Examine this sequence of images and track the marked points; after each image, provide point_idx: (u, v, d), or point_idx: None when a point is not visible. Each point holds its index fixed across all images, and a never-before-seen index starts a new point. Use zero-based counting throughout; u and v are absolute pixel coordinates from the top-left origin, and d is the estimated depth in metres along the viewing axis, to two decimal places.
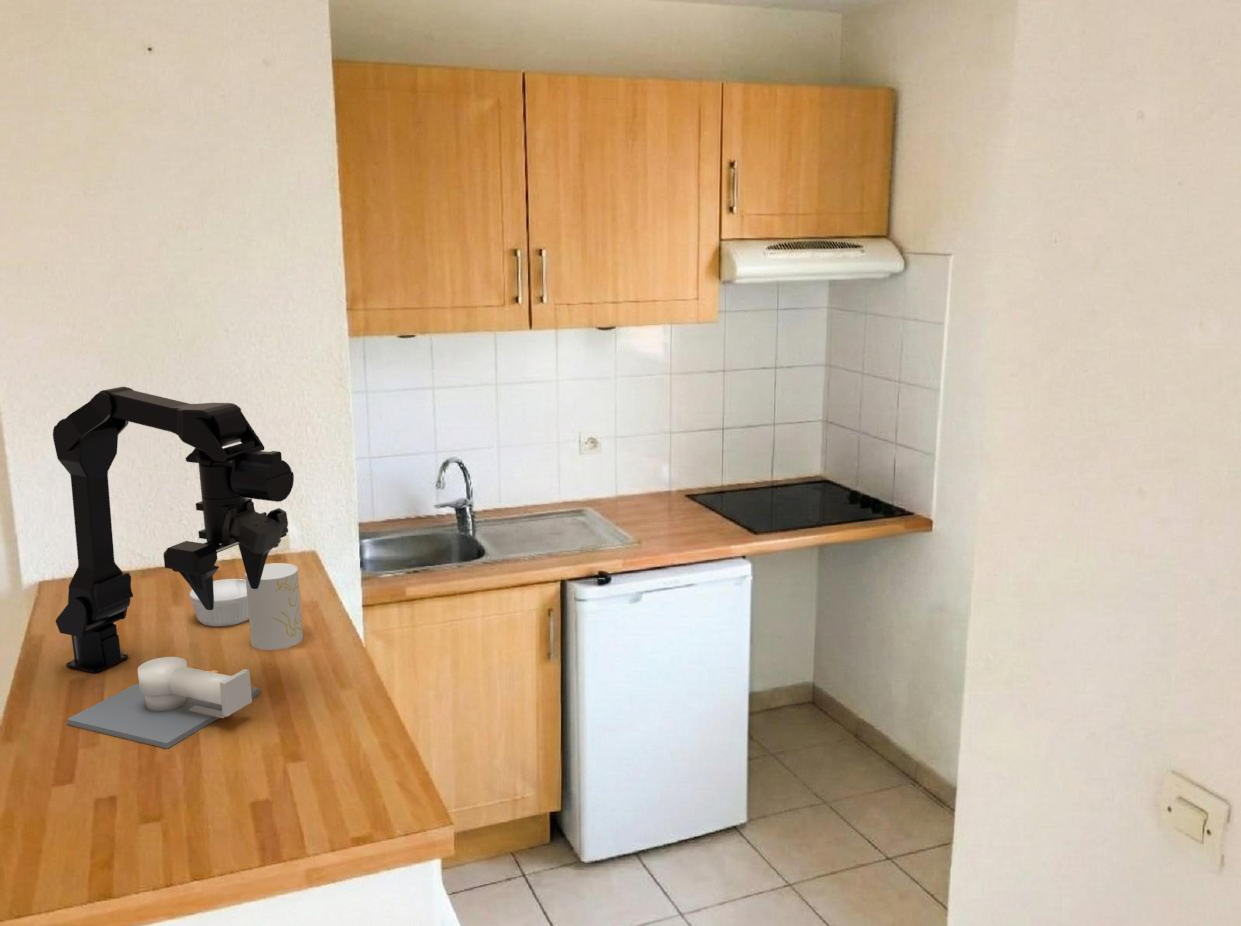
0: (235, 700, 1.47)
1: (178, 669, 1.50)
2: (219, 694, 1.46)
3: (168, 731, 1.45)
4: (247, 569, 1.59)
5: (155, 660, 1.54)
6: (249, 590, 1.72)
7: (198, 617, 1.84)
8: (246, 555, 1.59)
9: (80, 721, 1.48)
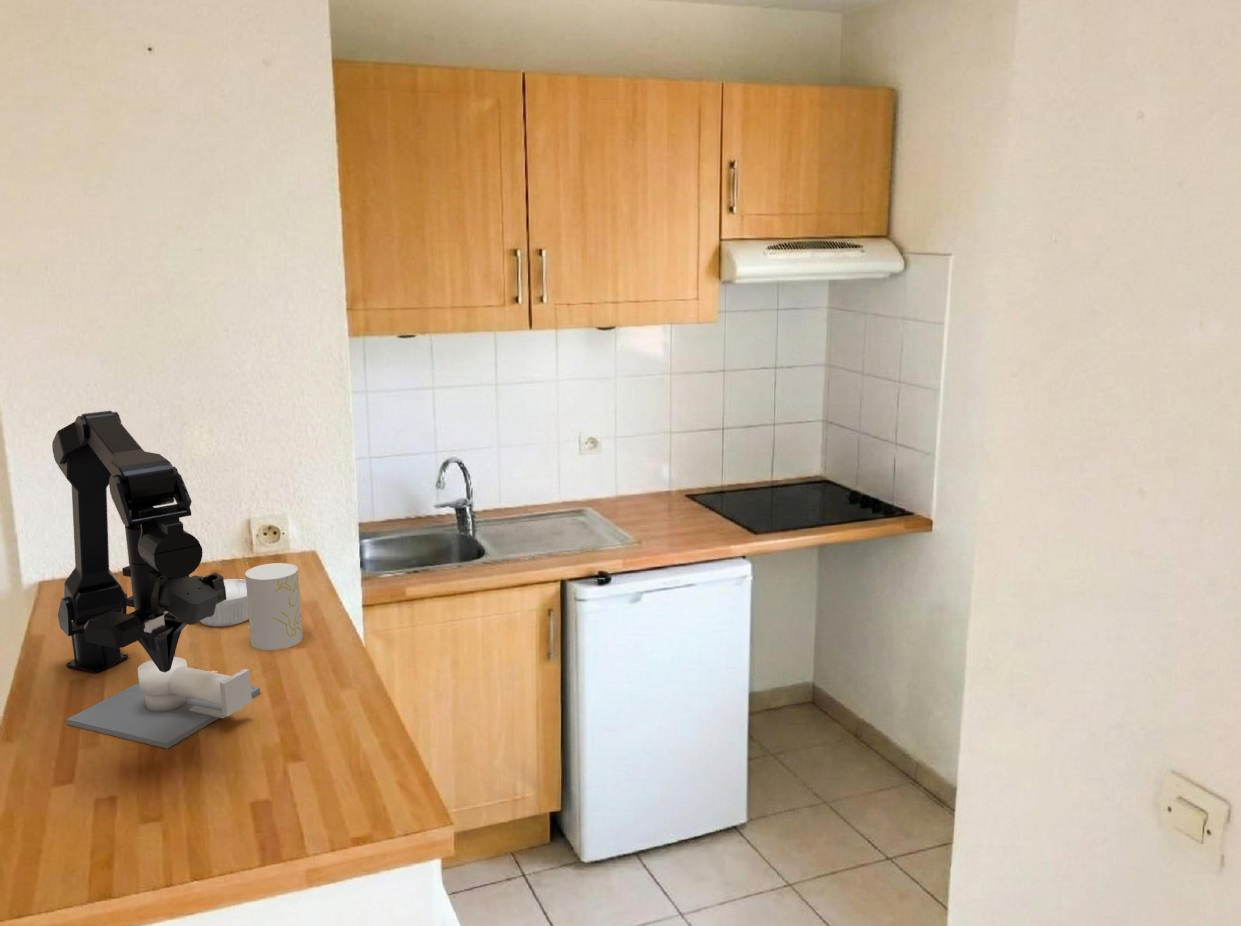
0: (235, 700, 1.47)
1: (178, 669, 1.50)
2: (219, 694, 1.46)
3: (168, 731, 1.45)
4: None
5: None
6: (249, 590, 1.72)
7: None
8: None
9: (80, 721, 1.48)
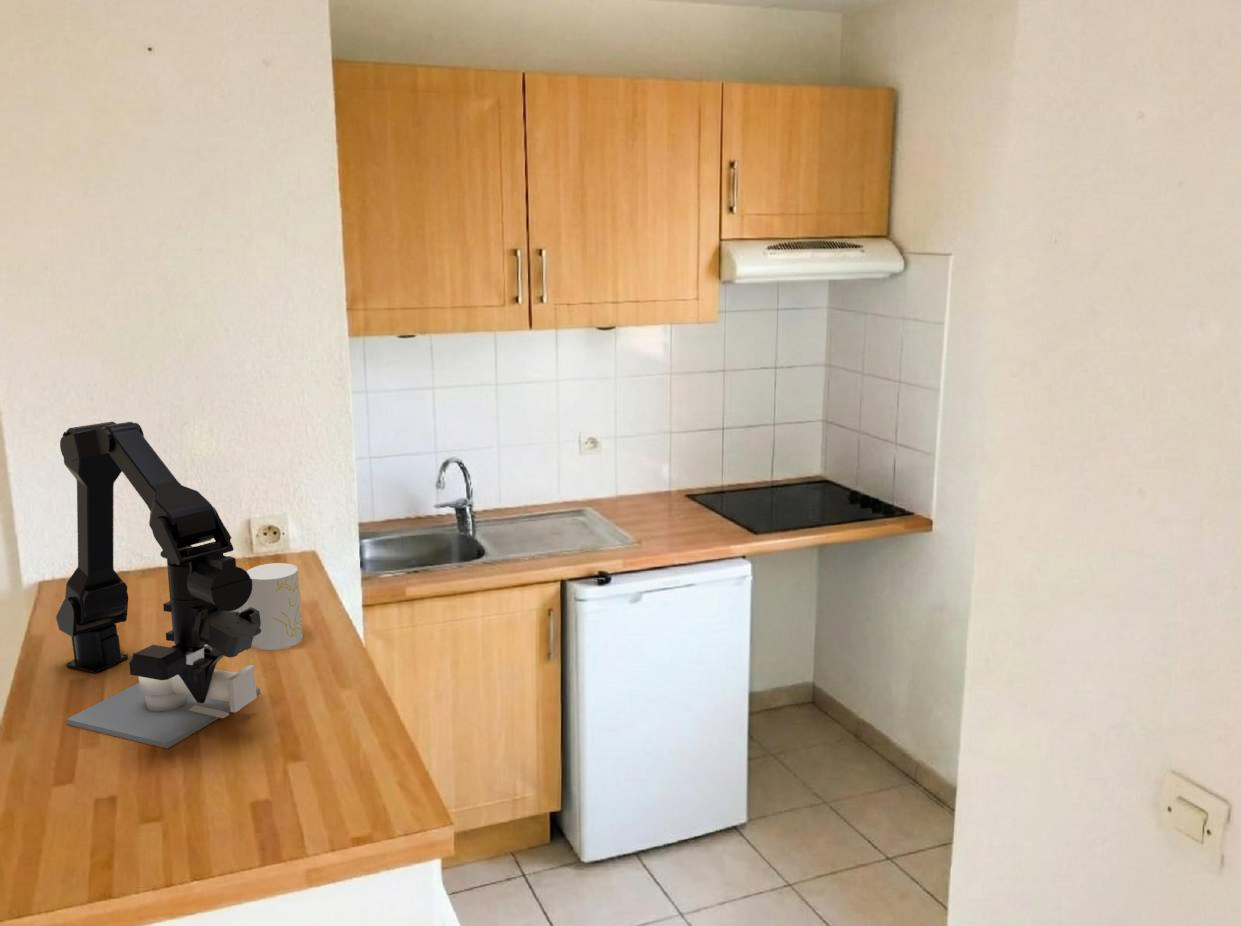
0: (242, 696, 1.48)
1: None
2: (226, 691, 1.47)
3: (168, 731, 1.45)
4: None
5: None
6: None
7: None
8: None
9: (80, 721, 1.48)
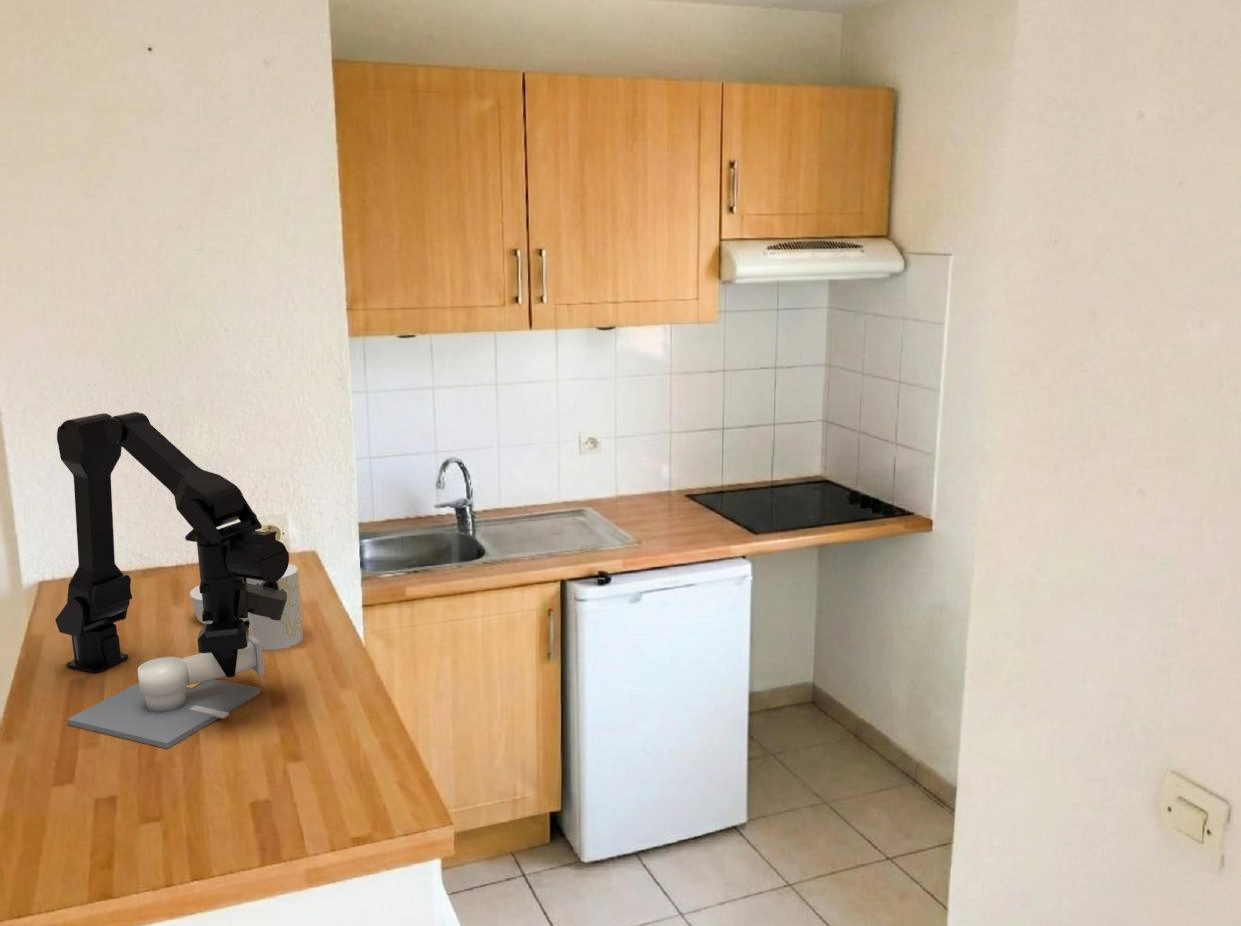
0: None
1: (188, 659, 1.53)
2: (251, 658, 1.58)
3: (168, 731, 1.45)
4: None
5: (141, 667, 1.51)
6: None
7: (198, 617, 1.84)
8: None
9: (80, 721, 1.48)
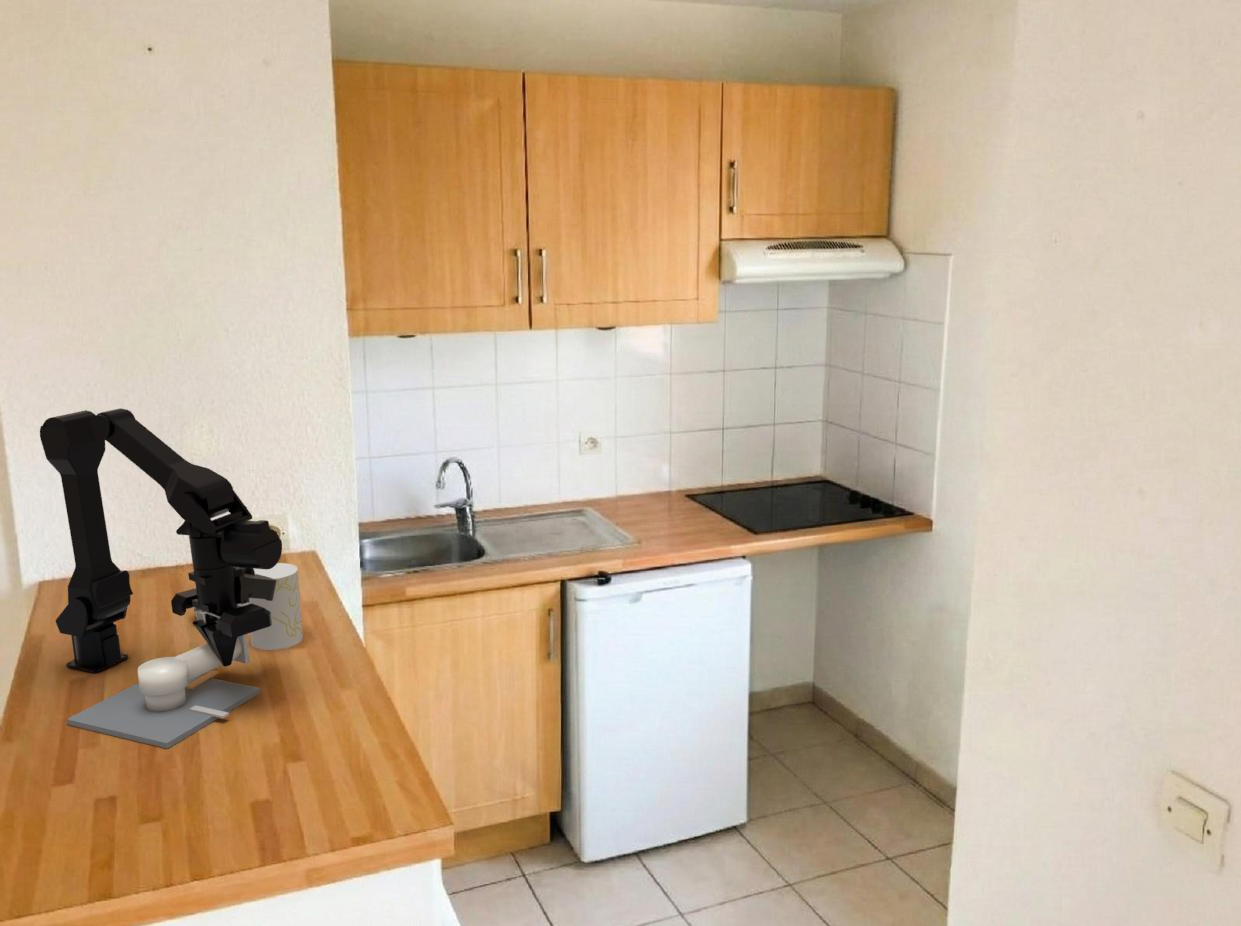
0: None
1: (184, 656, 1.55)
2: (238, 647, 1.62)
3: (168, 731, 1.45)
4: None
5: (141, 670, 1.50)
6: None
7: None
8: None
9: (80, 721, 1.48)
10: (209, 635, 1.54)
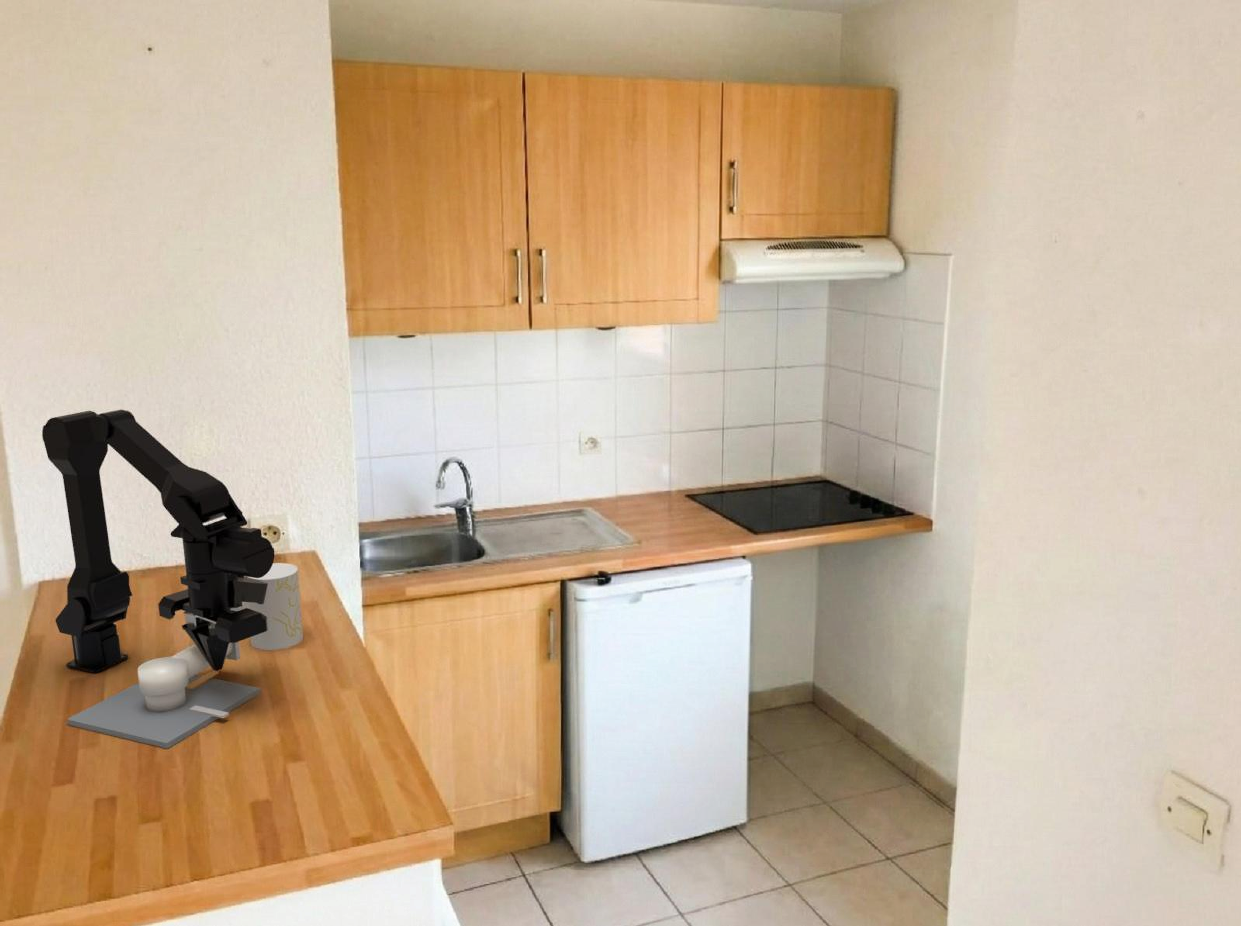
0: None
1: (181, 655, 1.55)
2: (229, 644, 1.63)
3: (168, 731, 1.45)
4: None
5: (142, 671, 1.50)
6: None
7: None
8: None
9: (80, 721, 1.48)
10: (203, 640, 1.53)
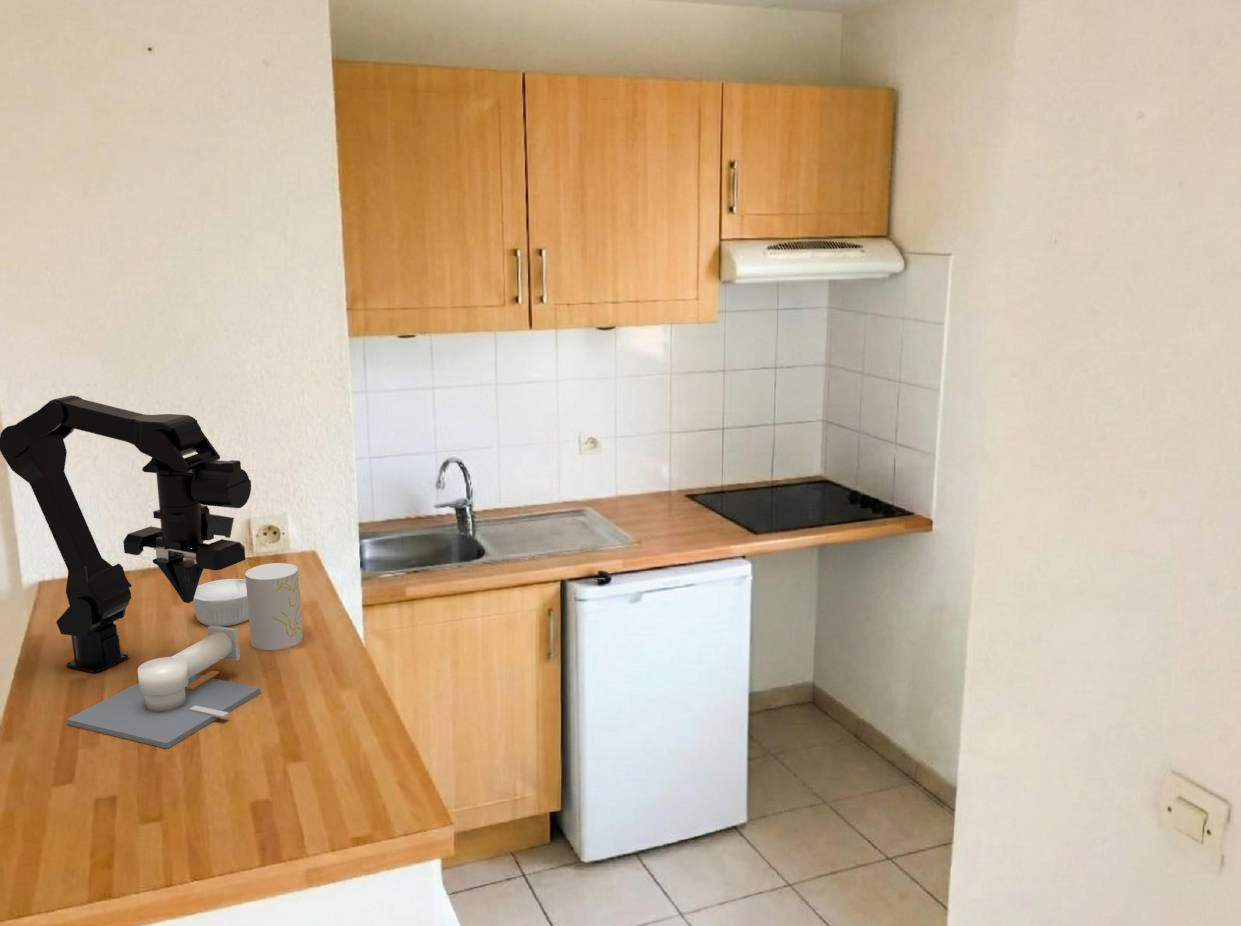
0: None
1: (181, 655, 1.55)
2: (229, 644, 1.63)
3: (168, 731, 1.45)
4: None
5: (142, 671, 1.50)
6: (249, 590, 1.72)
7: (198, 617, 1.84)
8: None
9: (80, 721, 1.48)
10: (179, 572, 1.57)
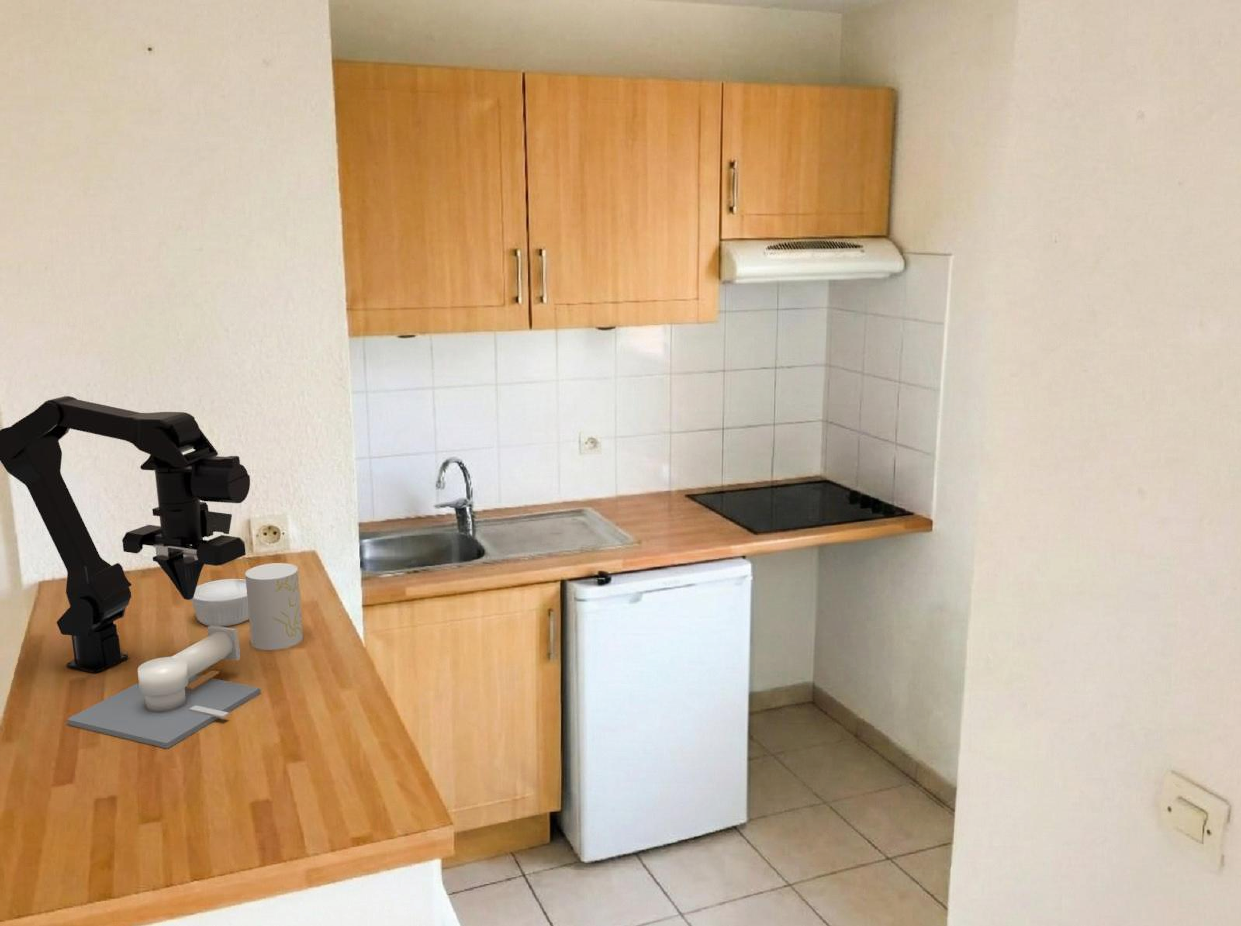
0: None
1: (181, 655, 1.55)
2: (229, 644, 1.63)
3: (168, 731, 1.45)
4: None
5: (142, 671, 1.50)
6: (249, 590, 1.72)
7: (198, 617, 1.84)
8: None
9: (80, 721, 1.48)
10: (179, 568, 1.58)
